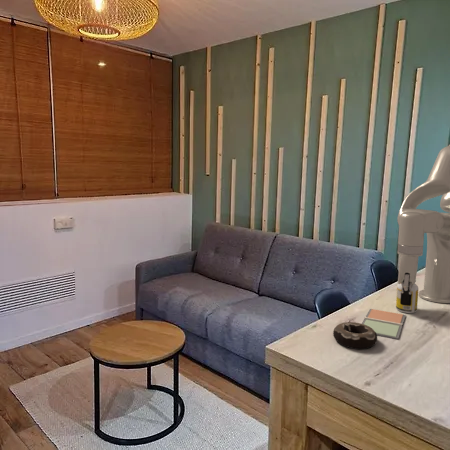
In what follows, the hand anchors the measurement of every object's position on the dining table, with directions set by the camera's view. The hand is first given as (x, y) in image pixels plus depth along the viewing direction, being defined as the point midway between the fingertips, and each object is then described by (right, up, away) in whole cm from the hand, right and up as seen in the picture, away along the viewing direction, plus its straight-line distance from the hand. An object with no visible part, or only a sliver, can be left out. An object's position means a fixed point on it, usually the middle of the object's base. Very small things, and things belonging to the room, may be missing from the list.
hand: (406, 301), depth 132 cm
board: (-12, -5, -10) cm, 17 cm away
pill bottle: (0, -3, +1) cm, 3 cm away
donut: (-25, -7, -22) cm, 34 cm away
